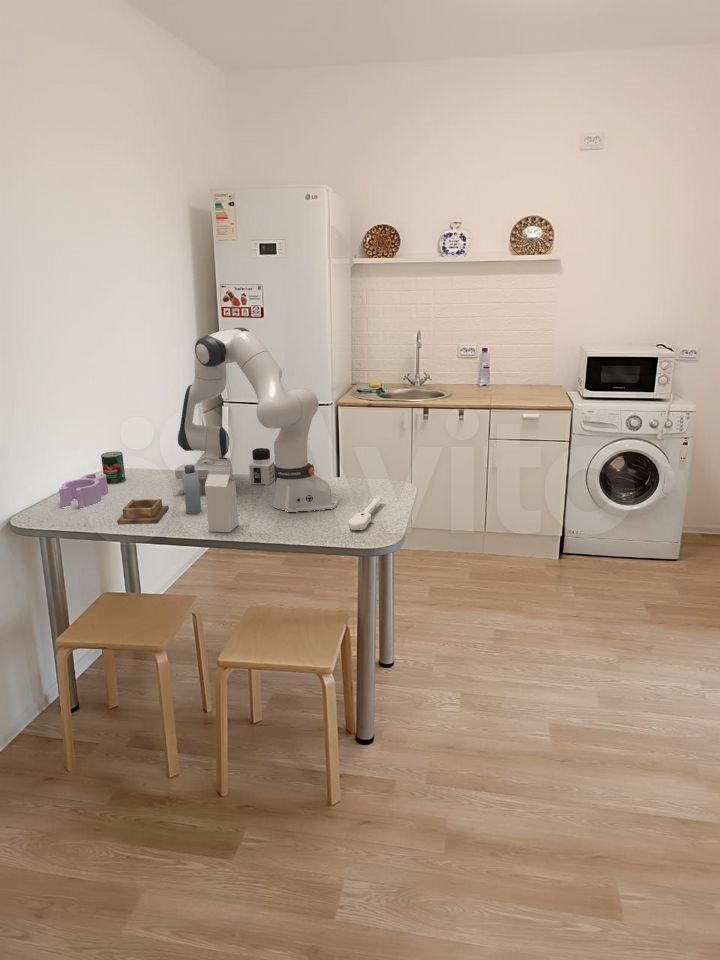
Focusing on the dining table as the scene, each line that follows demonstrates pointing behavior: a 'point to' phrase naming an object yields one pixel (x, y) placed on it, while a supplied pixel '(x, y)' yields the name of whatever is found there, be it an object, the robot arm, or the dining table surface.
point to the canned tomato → (113, 467)
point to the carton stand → (143, 511)
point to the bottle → (191, 490)
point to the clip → (84, 490)
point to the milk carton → (221, 501)
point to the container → (261, 467)
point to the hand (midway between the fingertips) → (200, 477)
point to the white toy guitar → (363, 516)
